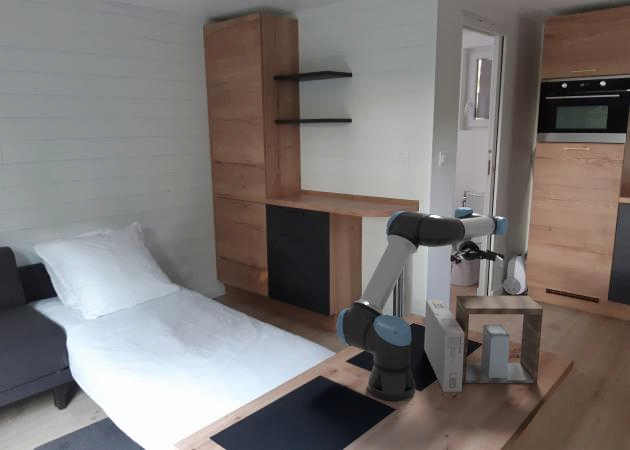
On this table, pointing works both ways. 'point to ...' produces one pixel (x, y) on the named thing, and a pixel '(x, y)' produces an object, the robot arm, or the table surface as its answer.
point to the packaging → (444, 345)
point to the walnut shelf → (530, 335)
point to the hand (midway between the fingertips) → (483, 263)
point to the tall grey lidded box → (495, 351)
